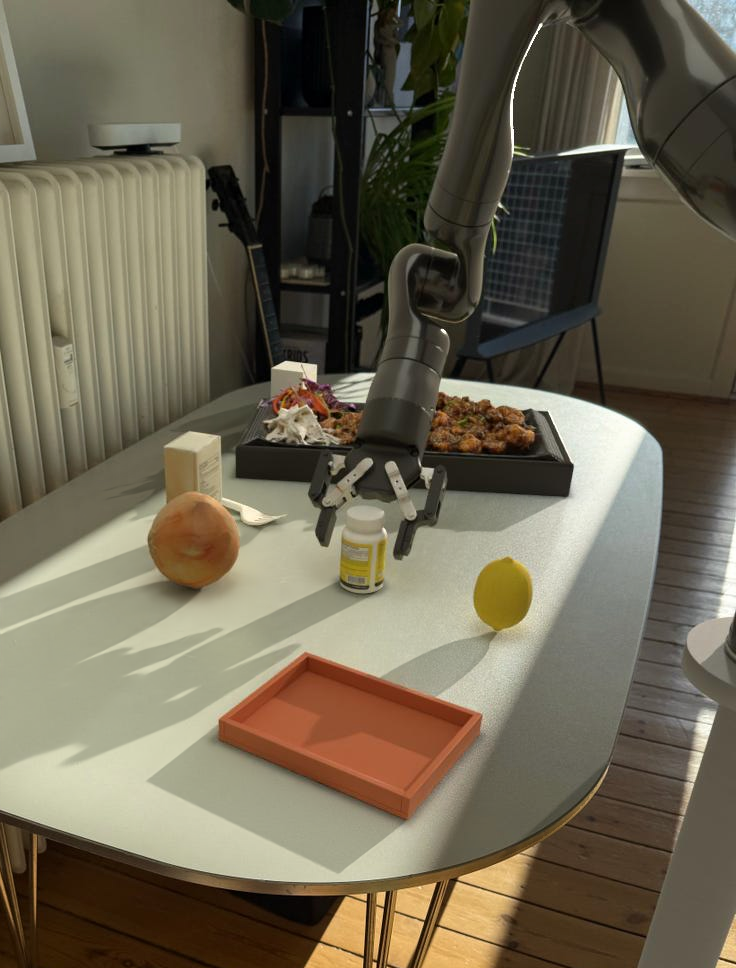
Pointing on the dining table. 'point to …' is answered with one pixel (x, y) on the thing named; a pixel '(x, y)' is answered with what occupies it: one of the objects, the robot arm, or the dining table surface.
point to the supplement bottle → (363, 550)
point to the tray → (353, 732)
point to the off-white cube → (291, 376)
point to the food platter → (451, 442)
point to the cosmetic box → (193, 465)
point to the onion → (194, 540)
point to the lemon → (503, 593)
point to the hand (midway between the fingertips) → (359, 550)
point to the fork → (249, 513)
